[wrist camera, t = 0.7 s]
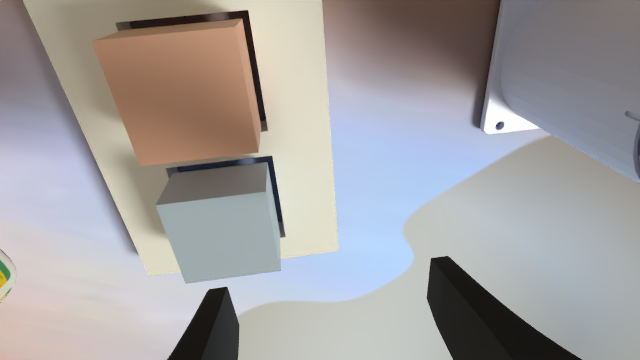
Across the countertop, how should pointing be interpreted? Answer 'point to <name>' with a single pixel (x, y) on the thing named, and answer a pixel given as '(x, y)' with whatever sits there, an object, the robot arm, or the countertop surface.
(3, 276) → the supplement bottle
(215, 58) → the terracotta button
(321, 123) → the panel
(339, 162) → the countertop surface
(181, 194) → the slate button
